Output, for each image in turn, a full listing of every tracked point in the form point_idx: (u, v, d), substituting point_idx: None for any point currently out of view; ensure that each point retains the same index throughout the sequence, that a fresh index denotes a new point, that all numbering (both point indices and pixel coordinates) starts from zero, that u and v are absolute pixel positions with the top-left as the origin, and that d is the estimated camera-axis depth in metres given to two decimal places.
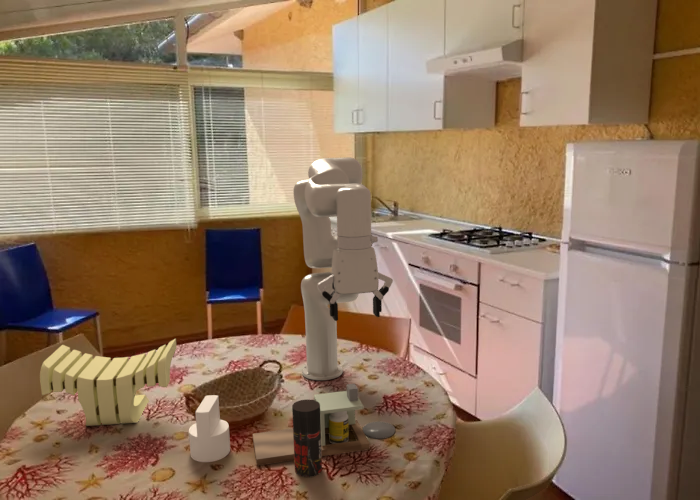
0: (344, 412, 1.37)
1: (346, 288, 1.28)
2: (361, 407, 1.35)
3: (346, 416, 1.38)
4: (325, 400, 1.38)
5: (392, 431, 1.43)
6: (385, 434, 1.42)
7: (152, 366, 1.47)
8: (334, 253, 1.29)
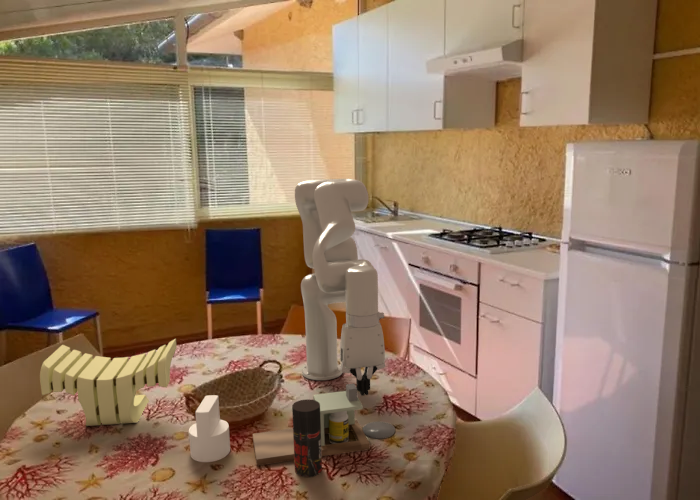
0: (344, 412, 1.37)
1: (354, 363, 1.35)
2: (360, 407, 1.35)
3: (346, 416, 1.38)
4: (325, 400, 1.38)
5: (392, 431, 1.43)
6: (385, 434, 1.42)
7: (152, 366, 1.47)
8: (343, 329, 1.36)
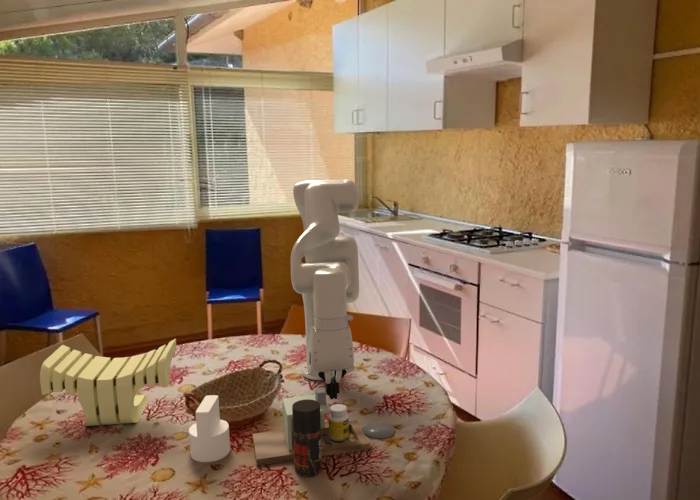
0: (344, 412, 1.37)
1: (322, 366, 1.34)
2: (329, 411, 1.33)
3: (346, 416, 1.38)
4: None
5: (392, 431, 1.43)
6: (385, 434, 1.42)
7: (152, 366, 1.47)
8: (311, 332, 1.34)
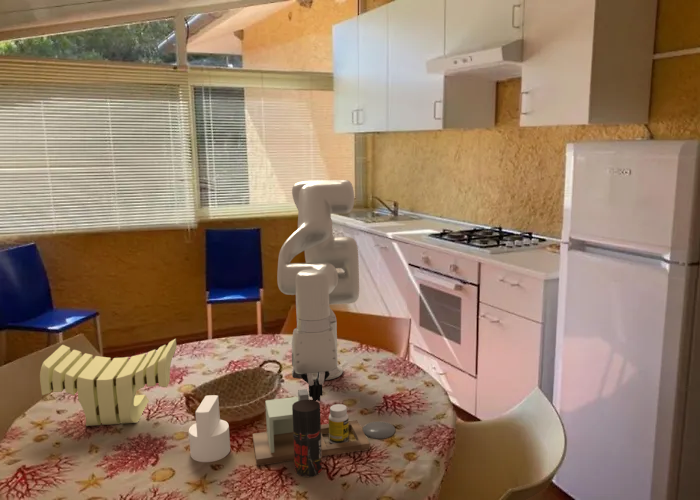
0: (344, 412, 1.37)
1: (305, 368, 1.33)
2: None
3: (346, 416, 1.38)
4: (276, 406, 1.36)
5: (392, 431, 1.43)
6: (385, 434, 1.42)
7: (152, 366, 1.47)
8: (293, 334, 1.33)
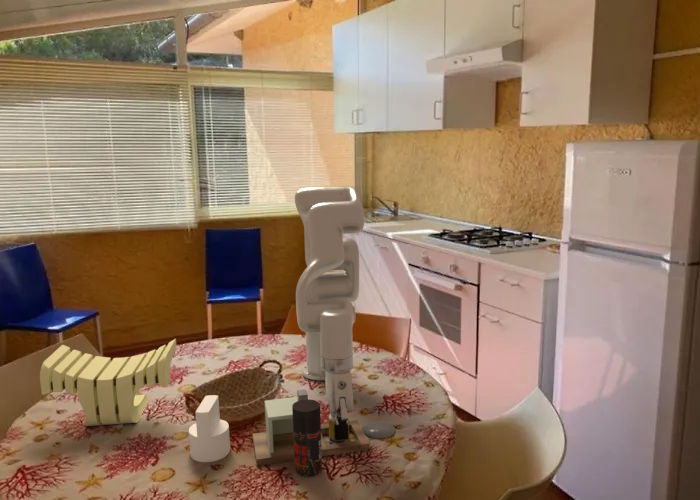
0: None
1: (326, 396, 1.40)
2: None
3: None
4: (275, 406, 1.36)
5: (392, 431, 1.43)
6: (385, 434, 1.42)
7: (152, 366, 1.47)
8: None
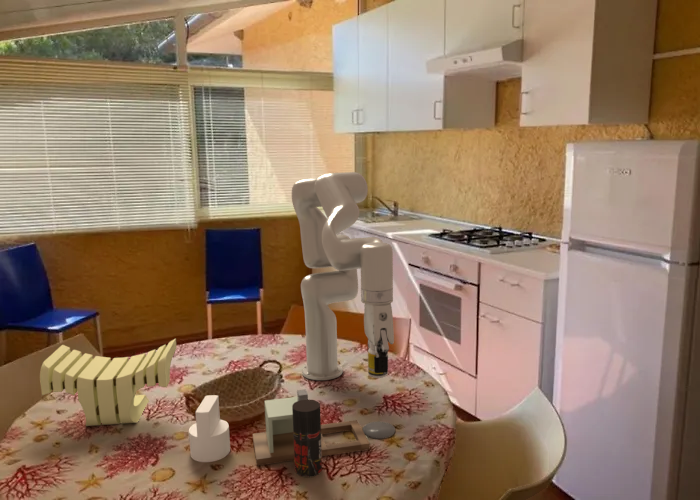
0: None
1: (366, 331, 1.42)
2: None
3: None
4: (275, 406, 1.36)
5: (392, 431, 1.43)
6: (385, 434, 1.42)
7: (152, 366, 1.47)
8: None
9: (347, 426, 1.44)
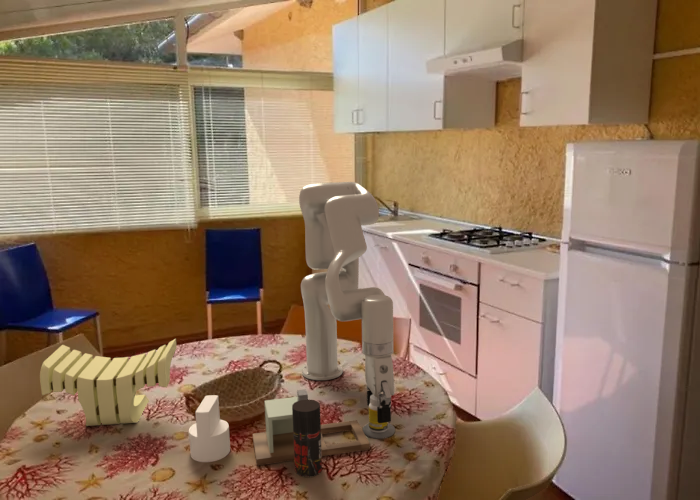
0: None
1: (366, 381, 1.44)
2: None
3: None
4: (275, 406, 1.36)
5: (392, 431, 1.43)
6: (385, 434, 1.42)
7: (152, 366, 1.47)
8: None
9: (347, 426, 1.44)
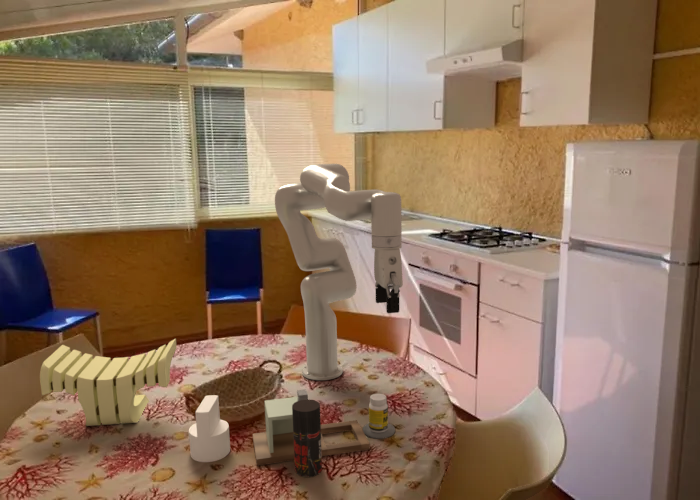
0: (384, 401, 1.42)
1: (376, 277, 1.51)
2: None
3: (386, 405, 1.43)
4: (275, 406, 1.36)
5: (392, 431, 1.43)
6: (385, 434, 1.42)
7: (152, 366, 1.47)
8: None
9: (347, 426, 1.44)
